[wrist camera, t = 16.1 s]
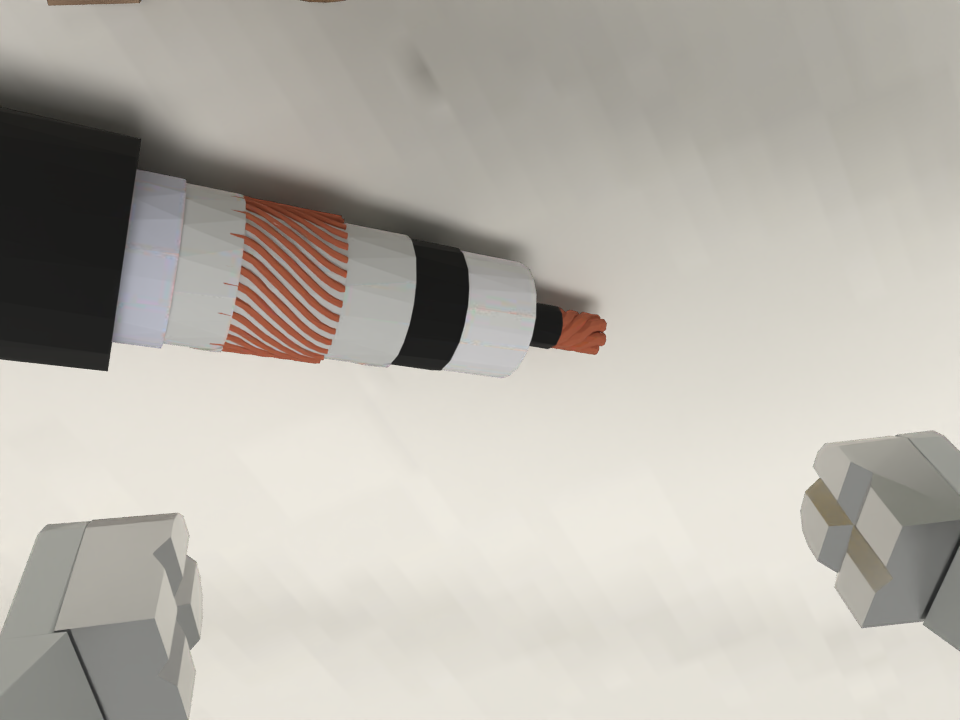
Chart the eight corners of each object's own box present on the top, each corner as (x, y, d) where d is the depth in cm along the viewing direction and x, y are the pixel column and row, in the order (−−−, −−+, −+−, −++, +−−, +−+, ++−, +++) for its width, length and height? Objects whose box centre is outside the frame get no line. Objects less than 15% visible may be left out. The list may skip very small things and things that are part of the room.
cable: (542, 302, 52) (562, 455, 47) (-109, 185, 38) (-172, 383, 33) (632, 205, 44) (667, 377, 39) (-148, 14, 30) (-237, 241, 26)
